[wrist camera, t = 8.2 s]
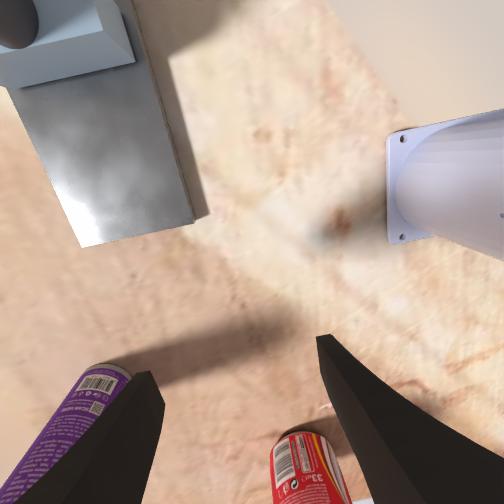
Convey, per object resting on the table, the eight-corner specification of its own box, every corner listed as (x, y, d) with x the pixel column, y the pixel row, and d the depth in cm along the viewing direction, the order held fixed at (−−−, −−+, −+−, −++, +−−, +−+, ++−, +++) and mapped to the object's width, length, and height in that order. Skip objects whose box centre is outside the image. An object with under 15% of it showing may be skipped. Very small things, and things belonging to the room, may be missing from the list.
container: (69, 383, 23) (-197, 742, 9) (103, 354, 22) (-132, 702, 8) (112, 409, 24) (-59, 756, 10) (145, 383, 23) (8, 722, 9)
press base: (72, -205, 11) (-43, -462, 7) (196, 220, 18) (182, 240, 14) (-98, -164, 11) (-329, -390, 7) (89, 243, 18) (40, 271, 14)
